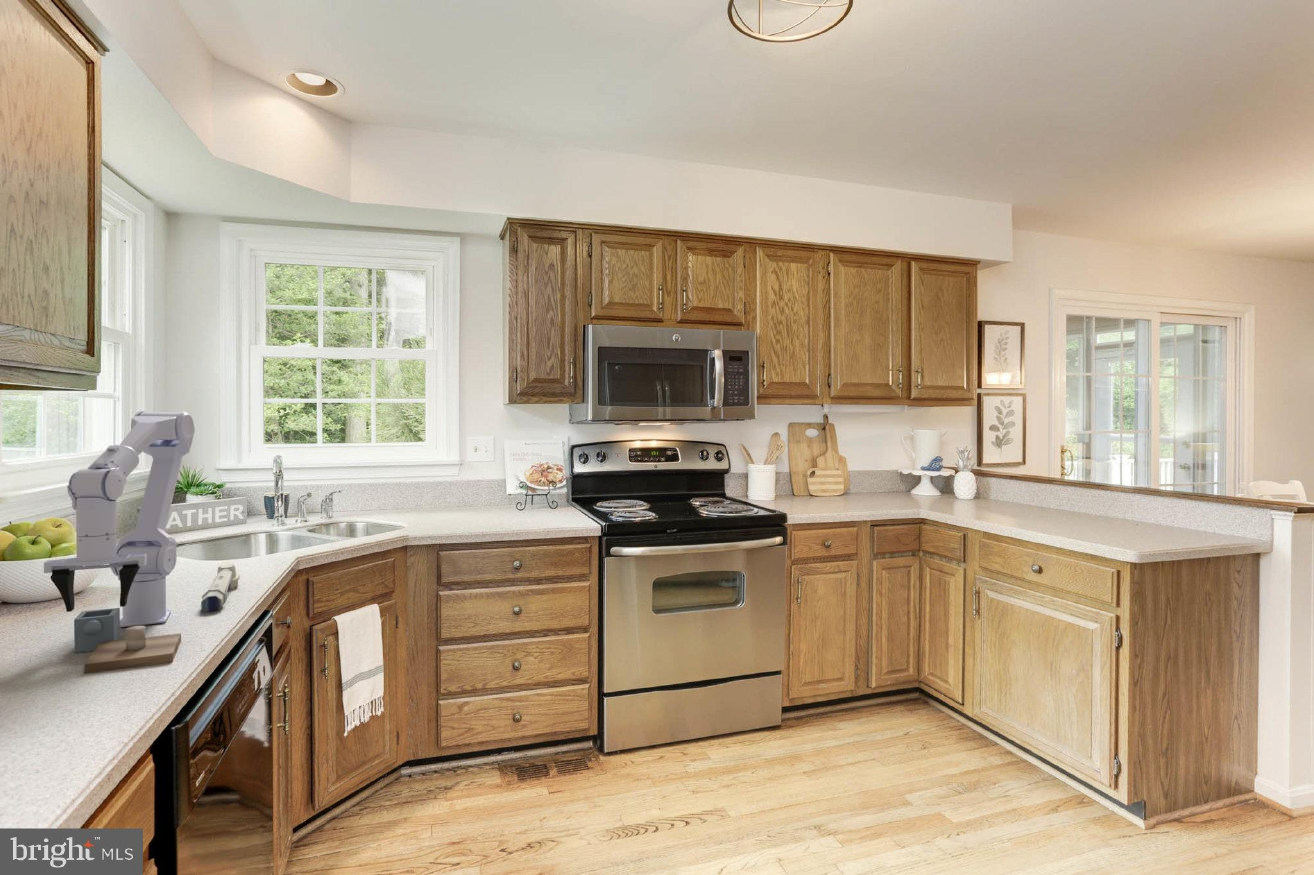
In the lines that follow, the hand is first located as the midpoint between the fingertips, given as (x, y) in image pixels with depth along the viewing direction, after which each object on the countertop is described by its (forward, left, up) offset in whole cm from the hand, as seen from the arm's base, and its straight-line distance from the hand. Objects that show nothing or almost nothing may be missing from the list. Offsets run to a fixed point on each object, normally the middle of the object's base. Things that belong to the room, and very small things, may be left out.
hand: (97, 607), depth 126 cm
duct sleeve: (0, 0, -7) cm, 7 cm away
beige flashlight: (-28, +17, -8) cm, 34 cm away
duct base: (+9, +7, -7) cm, 14 cm away
